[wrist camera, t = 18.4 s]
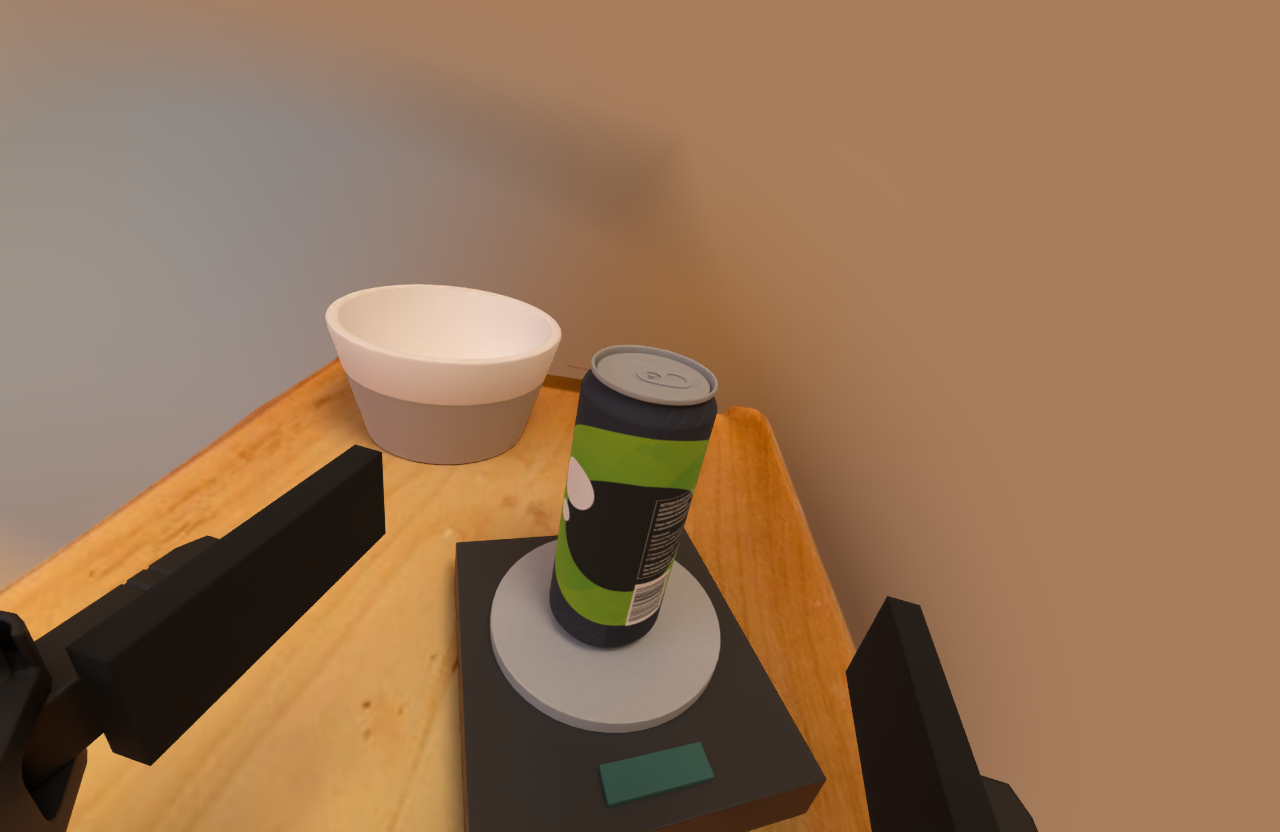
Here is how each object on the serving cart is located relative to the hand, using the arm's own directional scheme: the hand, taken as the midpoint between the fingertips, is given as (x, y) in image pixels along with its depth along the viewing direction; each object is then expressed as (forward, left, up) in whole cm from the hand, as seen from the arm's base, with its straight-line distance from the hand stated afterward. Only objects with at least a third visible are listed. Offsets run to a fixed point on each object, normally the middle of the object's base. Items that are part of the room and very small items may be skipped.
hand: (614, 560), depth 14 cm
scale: (-5, -9, -18) cm, 21 cm away
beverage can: (-5, -10, -15) cm, 18 cm away
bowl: (+3, -38, -18) cm, 42 cm away
